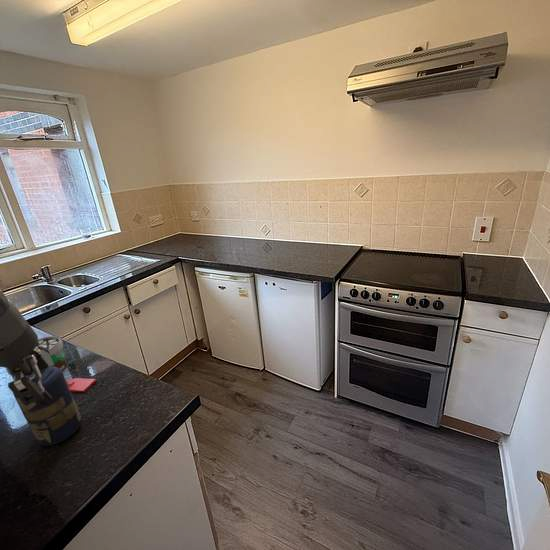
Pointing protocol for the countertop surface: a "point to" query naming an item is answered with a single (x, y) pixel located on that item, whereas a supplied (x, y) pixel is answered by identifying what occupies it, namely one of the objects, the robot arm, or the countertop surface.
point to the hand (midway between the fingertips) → (44, 384)
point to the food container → (53, 352)
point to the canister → (52, 410)
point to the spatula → (80, 384)
